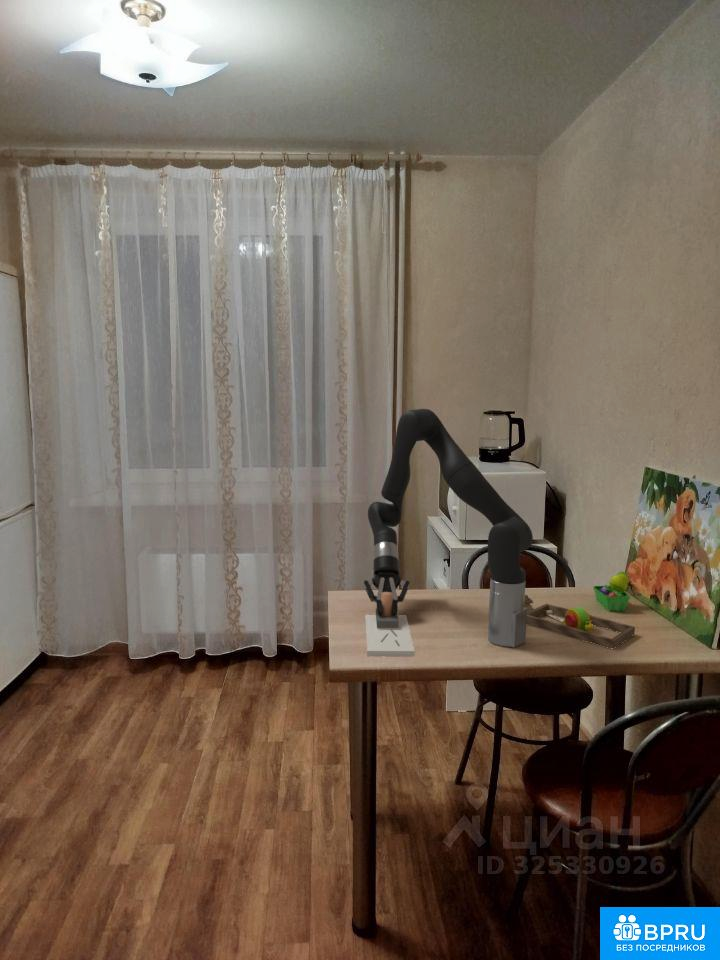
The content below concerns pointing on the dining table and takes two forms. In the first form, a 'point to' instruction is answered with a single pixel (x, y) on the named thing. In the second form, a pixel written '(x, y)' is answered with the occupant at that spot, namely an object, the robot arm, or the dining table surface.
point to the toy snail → (576, 619)
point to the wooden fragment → (526, 604)
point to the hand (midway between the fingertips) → (387, 614)
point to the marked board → (388, 639)
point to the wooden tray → (577, 633)
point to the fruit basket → (613, 593)
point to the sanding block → (387, 613)
